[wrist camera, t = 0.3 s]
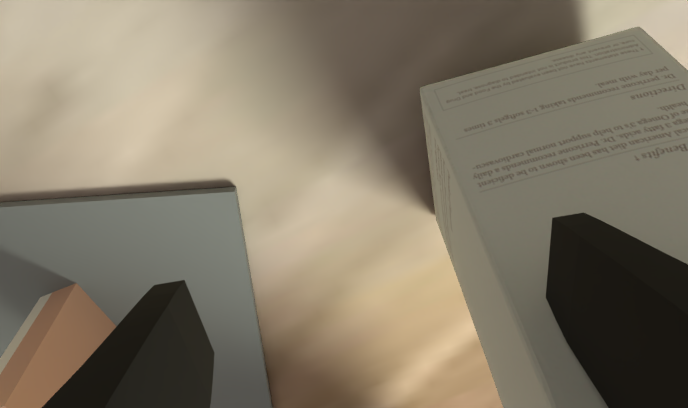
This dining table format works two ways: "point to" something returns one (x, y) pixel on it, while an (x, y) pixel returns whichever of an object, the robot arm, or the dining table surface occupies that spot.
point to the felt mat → (141, 269)
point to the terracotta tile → (51, 347)
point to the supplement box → (553, 188)
